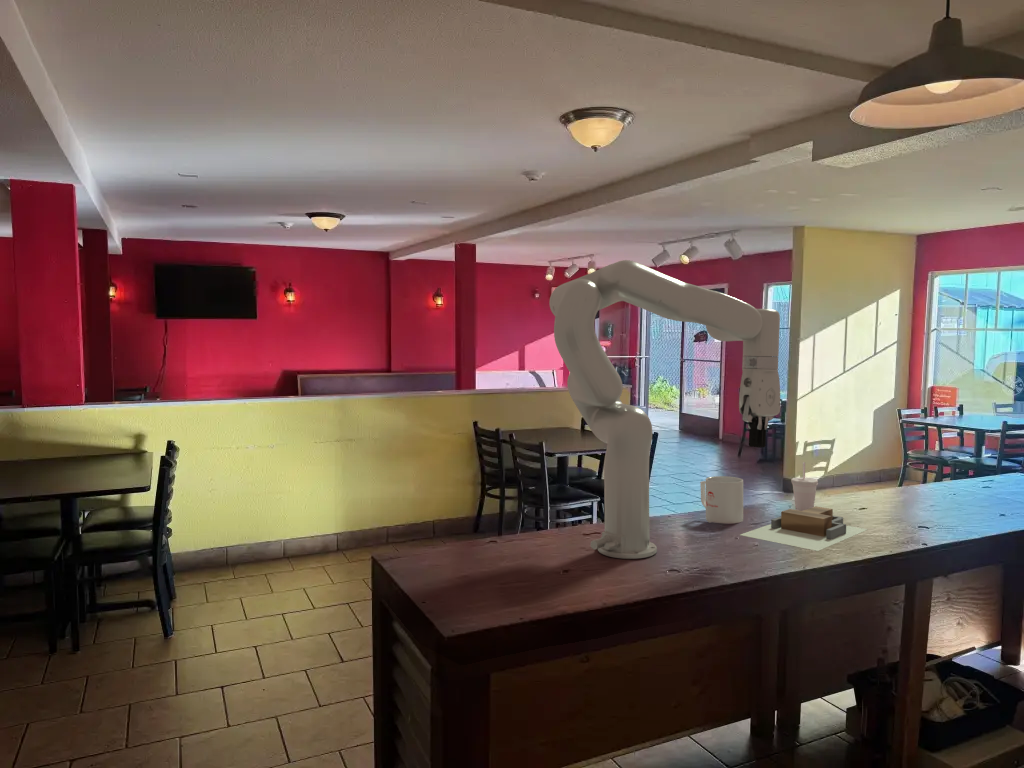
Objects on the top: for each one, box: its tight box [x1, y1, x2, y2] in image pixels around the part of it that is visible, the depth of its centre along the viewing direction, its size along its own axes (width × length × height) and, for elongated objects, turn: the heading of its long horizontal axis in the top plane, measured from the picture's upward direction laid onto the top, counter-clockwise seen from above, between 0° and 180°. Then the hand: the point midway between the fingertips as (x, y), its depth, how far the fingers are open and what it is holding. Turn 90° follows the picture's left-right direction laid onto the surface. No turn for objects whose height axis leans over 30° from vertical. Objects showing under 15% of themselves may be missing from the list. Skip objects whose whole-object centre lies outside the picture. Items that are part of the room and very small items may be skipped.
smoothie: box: [790, 461, 819, 511], centre depth 180 cm, size 6×6×14 cm
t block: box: [780, 505, 834, 537], centre depth 165 cm, size 11×10×4 cm
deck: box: [739, 515, 869, 552], centre depth 162 cm, size 25×18×3 cm
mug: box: [700, 475, 744, 525], centre depth 176 cm, size 12×9×11 cm
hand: (757, 446), depth 158 cm, fingers closed
